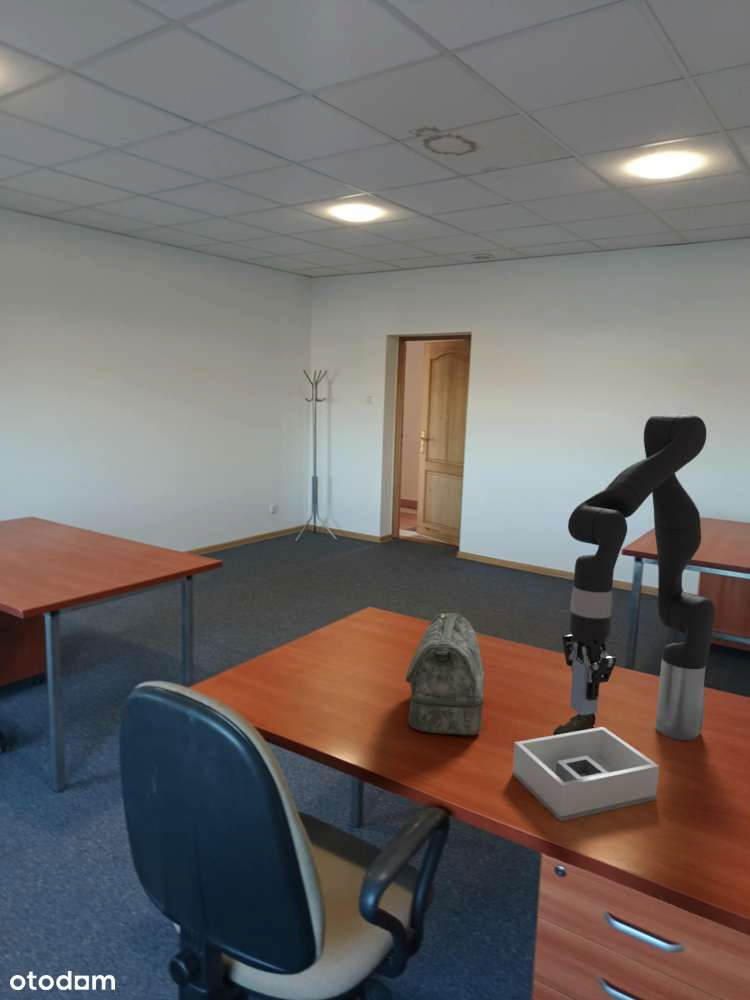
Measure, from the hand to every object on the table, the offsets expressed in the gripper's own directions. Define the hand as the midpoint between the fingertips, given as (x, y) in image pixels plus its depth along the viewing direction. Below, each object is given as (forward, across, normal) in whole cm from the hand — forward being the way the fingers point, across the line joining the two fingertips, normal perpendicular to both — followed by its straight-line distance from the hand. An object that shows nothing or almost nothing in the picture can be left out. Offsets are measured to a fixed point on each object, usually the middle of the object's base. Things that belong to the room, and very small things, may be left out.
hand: (584, 694), depth 127 cm
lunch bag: (+19, +36, +12) cm, 42 cm away
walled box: (+19, -1, 0) cm, 19 cm away
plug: (+3, 0, 0) cm, 3 cm away
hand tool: (+20, +16, -10) cm, 27 cm away
